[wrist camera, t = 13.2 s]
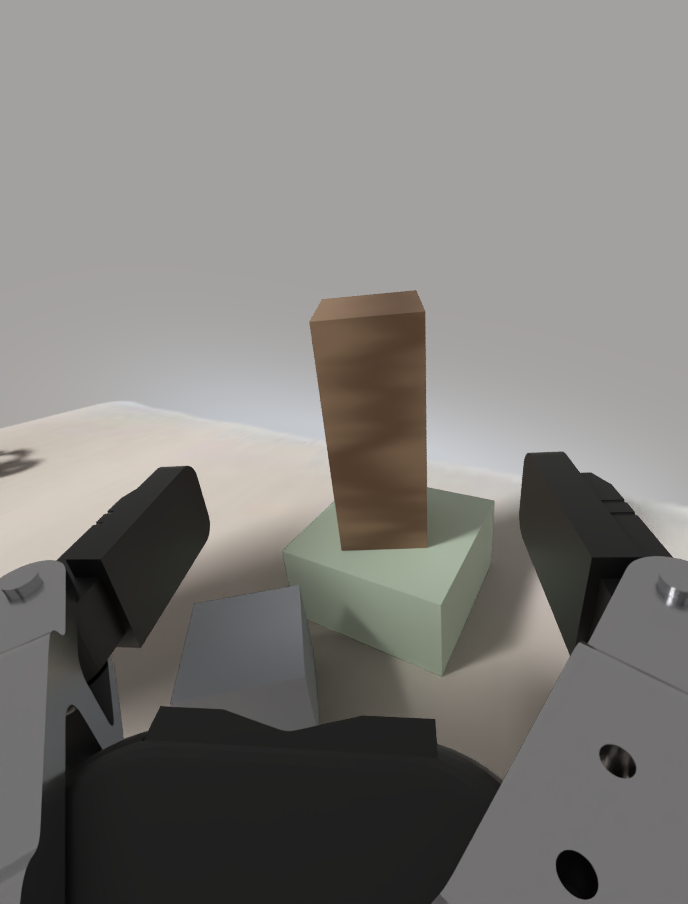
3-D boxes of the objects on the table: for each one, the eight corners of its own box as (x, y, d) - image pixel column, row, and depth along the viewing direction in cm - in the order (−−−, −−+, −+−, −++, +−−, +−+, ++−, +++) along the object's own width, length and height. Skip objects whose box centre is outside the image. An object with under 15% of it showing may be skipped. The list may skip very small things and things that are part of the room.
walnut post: (341, 550, 23) (309, 321, 17) (346, 500, 27) (322, 299, 21) (427, 548, 22) (425, 311, 17) (420, 496, 26) (416, 290, 20)
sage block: (296, 617, 26) (281, 551, 24) (368, 532, 32) (362, 474, 30) (442, 680, 21) (440, 605, 19) (491, 566, 28) (494, 500, 26)
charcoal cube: (204, 780, 18) (170, 703, 16) (219, 674, 23) (194, 603, 20) (322, 755, 18) (304, 676, 16) (314, 656, 23) (299, 584, 21)
